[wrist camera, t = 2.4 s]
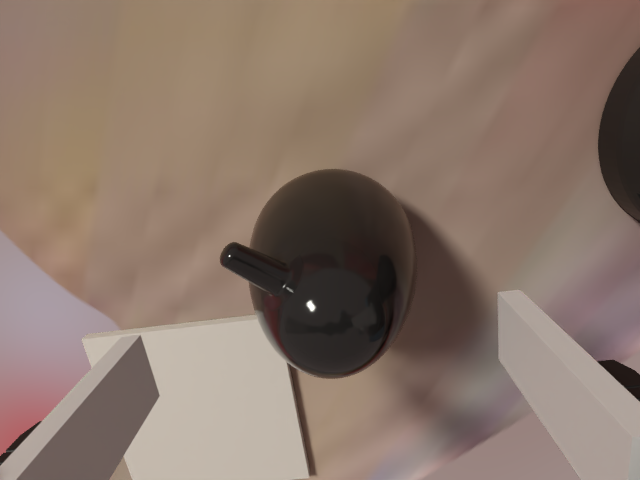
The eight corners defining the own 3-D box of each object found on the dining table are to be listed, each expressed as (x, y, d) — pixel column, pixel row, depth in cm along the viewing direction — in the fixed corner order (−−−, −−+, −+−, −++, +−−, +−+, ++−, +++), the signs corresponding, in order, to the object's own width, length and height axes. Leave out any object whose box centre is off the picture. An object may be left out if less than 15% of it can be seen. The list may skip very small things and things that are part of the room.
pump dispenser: (320, 129, 27) (302, 146, 13) (431, 222, 29) (527, 331, 15) (234, 239, 30) (139, 356, 15) (341, 319, 32) (346, 493, 17)
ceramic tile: (279, 312, 32) (277, 316, 31) (309, 470, 36) (309, 478, 36) (87, 334, 33) (81, 339, 32) (140, 484, 38) (136, 492, 37)
